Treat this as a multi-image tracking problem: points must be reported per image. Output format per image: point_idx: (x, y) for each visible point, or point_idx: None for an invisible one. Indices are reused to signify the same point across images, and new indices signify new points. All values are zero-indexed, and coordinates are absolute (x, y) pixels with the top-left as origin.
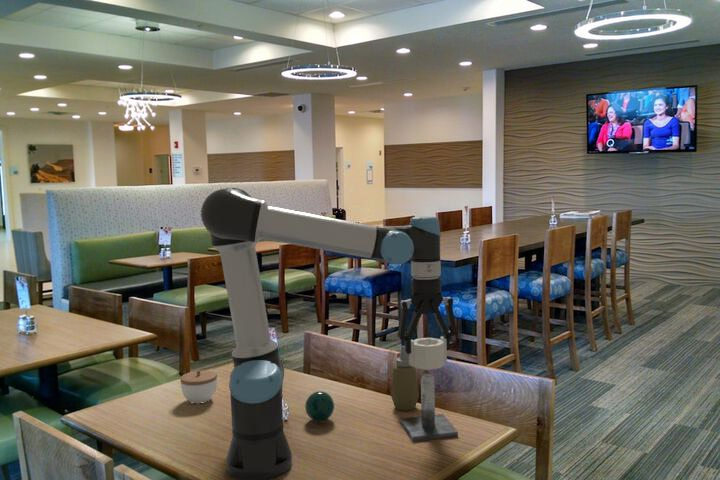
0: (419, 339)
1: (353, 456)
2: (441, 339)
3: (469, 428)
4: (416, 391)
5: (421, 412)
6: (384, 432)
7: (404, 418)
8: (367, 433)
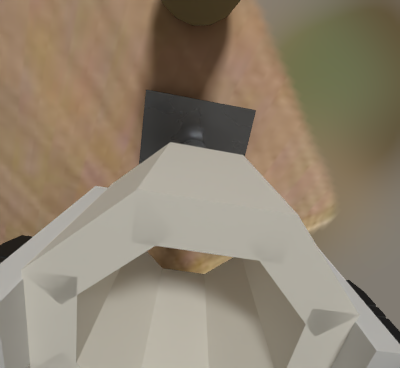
0: (149, 235)
1: (11, 203)
2: (346, 356)
3: (272, 181)
4: (228, 6)
5: None
6: (95, 127)
7: (155, 96)
8: (55, 116)
